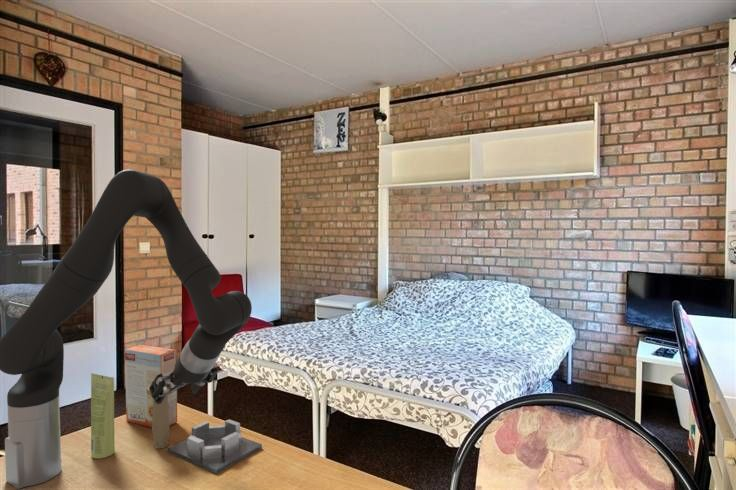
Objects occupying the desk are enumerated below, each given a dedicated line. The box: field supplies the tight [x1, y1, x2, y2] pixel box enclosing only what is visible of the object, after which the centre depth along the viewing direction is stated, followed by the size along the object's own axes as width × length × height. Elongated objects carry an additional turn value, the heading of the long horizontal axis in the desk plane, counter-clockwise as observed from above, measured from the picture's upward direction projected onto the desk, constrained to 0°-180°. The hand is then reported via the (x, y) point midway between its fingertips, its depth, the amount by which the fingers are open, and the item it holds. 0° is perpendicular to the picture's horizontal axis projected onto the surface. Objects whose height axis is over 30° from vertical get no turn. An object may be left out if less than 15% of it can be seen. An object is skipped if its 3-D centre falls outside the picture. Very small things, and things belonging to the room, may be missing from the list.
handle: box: [147, 386, 174, 450], centre depth 115 cm, size 5×6×15 cm
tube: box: [90, 372, 116, 459], centre depth 110 cm, size 6×5×20 cm
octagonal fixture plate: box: [166, 419, 263, 475], centre depth 113 cm, size 14×18×5 cm
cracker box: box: [124, 344, 178, 428], centre depth 128 cm, size 14×6×21 cm, turn 65°
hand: (175, 395), depth 108 cm, fingers open, 8 cm apart
